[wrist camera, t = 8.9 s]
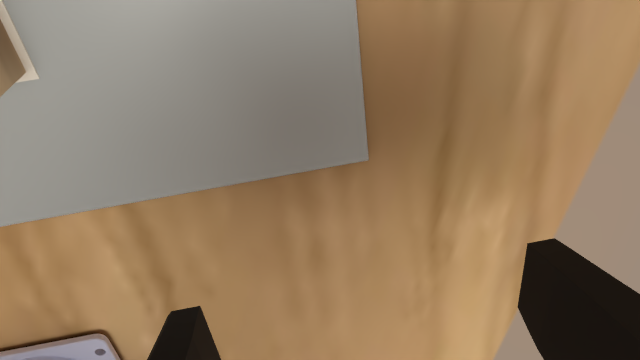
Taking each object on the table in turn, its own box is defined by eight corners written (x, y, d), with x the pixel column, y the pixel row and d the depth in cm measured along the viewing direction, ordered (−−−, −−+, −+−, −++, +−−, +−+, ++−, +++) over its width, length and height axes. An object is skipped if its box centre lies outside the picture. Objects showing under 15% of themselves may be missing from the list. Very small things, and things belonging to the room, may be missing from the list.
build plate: (365, 153, 21) (369, 160, 20) (-108, 238, 20) (-118, 248, 19) (328, -291, 13) (332, -297, 12) (-453, -182, 12) (-486, -184, 12)
